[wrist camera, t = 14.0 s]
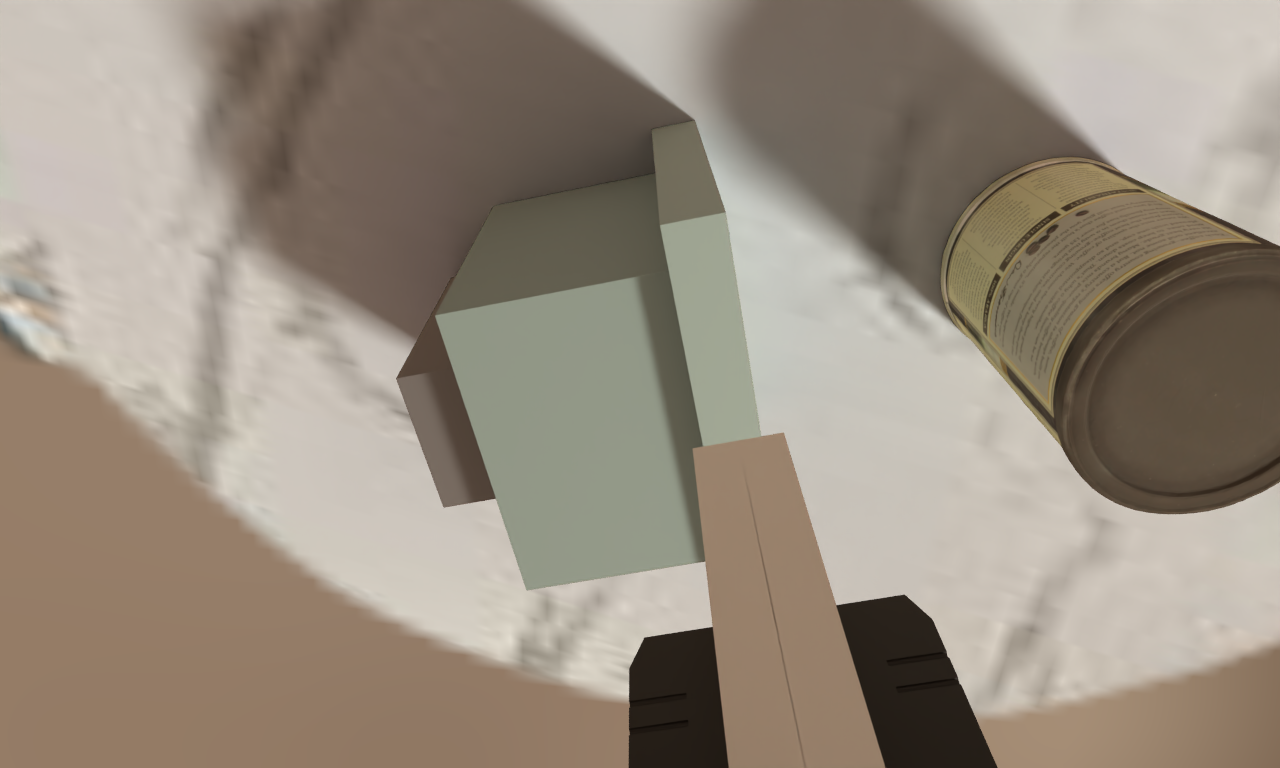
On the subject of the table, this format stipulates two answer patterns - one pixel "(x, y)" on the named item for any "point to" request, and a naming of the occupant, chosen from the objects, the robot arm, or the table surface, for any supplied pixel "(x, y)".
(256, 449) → the table surface
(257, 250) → the table surface
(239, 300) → the table surface
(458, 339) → the socket
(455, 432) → the plug
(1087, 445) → the coffee can
